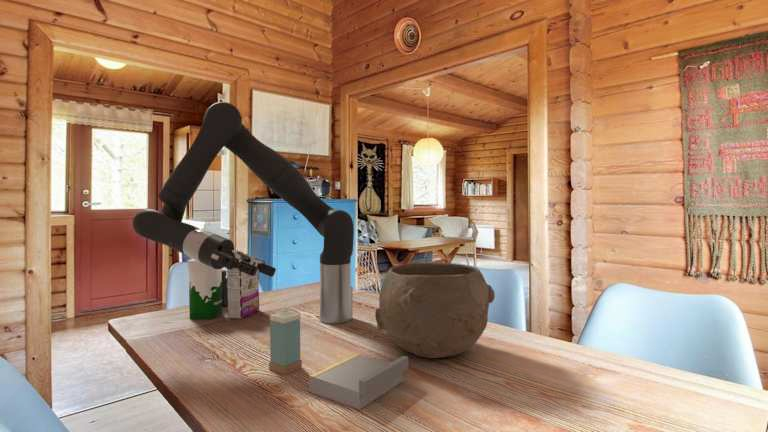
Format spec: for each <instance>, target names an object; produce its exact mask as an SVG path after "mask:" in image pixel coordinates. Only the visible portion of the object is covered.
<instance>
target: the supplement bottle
mask: <svg viewBox="0 0 768 432" xmlns="http://www.w3.org/2000/svg"><path fill="white" fill-rule="evenodd" d="M224 307H225V308H226V307H228V288H227V269H222V308H224Z"/></svg>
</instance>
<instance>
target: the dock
mask: <svg viewBox="0 0 768 432" xmlns="http://www.w3.org/2000/svg"><path fill="white" fill-rule="evenodd" d="M408 370H409V356H406V355H402V356H400V357H398V358H396V359H395V360H392V361H391V362H389V361H386V360H383V359H382V360H381V359H377V358H373V357H371V356H367V355H362V354H360V353H354V354H352V355H350V356H348V357H345V358H343V359H341V360H339V361H337V362H334V363H333V364H330V365H329V366H326V367H324V368H322V369H320V370H318V371H315V372H313V373H311V374H310V375H308V392H309V393H312V394H314V395H318V396H320V397H323V398H326V399H329V400H332V401H334V402H337V403H340V404H343V405H345V406H348V407H352V408H353V409H357V410H361V409H362V408H364V407H365V406H368V405H369V404H370V403H371V402H373V401H375V400H376V399H378V398H380V397H381V396H383V395H384V394H386V393H387V392H389V391H390V390H391V389H393V388H395V387H396V386H398V385H400V384H401V383H403V381H404V372H406V371H408Z"/></svg>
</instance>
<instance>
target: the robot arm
mask: <svg viewBox="0 0 768 432" xmlns="http://www.w3.org/2000/svg"><path fill="white" fill-rule="evenodd" d="M202 120H203V121H202V124H201V126H200V128H199V131H198V133H197V135H196V137H195V139H193V142H192V144H191V146H190V147H189V149H188V150H187V152H186V153H185V154H184V156H183V157H182V158H181V160H180V161H179V162H178V164H177V165H176V166H175V168H174V169H173V170H172V172H171V173H170V174H169V176H168V178H167V179H166V181H165V182H164V184H163V186H162V187H161V189H160V191H159V193H158V199H159V200H160V201H161V203H163V204H162V205H163V206H162V208H161V211H158V210H155V209H152V208H147V209H142V210H140V211H138V212H137V213H136V214H135V215H134V217H133V219H132V227H133V230H134V232H135V233H136V234H137V235H138V236H140V237H142V238H145V239H148V240H150V241H152V242H155V243H159V244H162V245H164V246H167V247H169V248H170V249H173V250H174V251H176V252H178V253H181V254H183V255H186V256H188V257H189V258H190V259H194V260H196V261H198V262H201V263H203V264H205V265H207V266H210V267H212V268H214V269H222V270H223V268H225V269H226V270H227V269H229V270H230V269H231V270H232V269H233V270H235V271H241V272H244V273H246V274H248V275H250V276H255V275H256V272H258V273H262V274H263V275H266V276H268V277H274V276H275V274H276V272H277V271H276V270H277V269H276V268H275V267H274V266H271V265H270V264H266V261H265V260H262V259H260V258H256V257H255V256H253V255H249V254H248V253H245V252H243V251H241V250H235V243H234V242H233V241H232V240H231V239H229V238H227V237H224V236H221V235H220V234H216V233H214V232H212V231H210V230H206V229H203V228H199V227H197V226H194V225H192V224H190V223H187V222H183V218H184V215H185V212H186V209H187V205H188V204H189V202H190V201H191V200H192V197H193V196H194V194H195V193H196V192H197V189H198V188H199V187H200V185H201V183H202V182H203V180H204V178H205V176H206V174H207V172H208V170H209V168H210V167H211V165H212V163H213V162H214V160H215V159H216V157H217V156H218V155H219V153H220V152H221V151H222V149H223V148H225V149H227V150H229V151H230V152H231V153H232V154H234V155H235V156H236V157H238V158H239V159H240V160H241V161H242V162H243V163H244V165H246V167H247V168H248V169H250V172H251V171H252V172H253V174H254V175H255V176H257V178H258V179H259V180H260V181H261V182H262V183H263V184H265V185H266V186H267V187H268V188H269V189H270V190H271V191H272V192H274V193H275V194H276V195H277V196H278V197H280V198H281V199H282V200H283V201H285V203H286V204H289V206H290V207H292V208H293V209H295V210H296V211H298V212H299V213H300V214H301V215H302V216H303V217H304V218H305V220H307V221H308V222H309V223H310V225H311V226H312V227H313V228H314V229H315V230H316V231H317V232H318V234H319V235H320V236H322V237H323V248H322V251H321V252H320V255H319V321H320V322H322V323H326V324H343V323H346V322H350V321H351V320H352V318H353V317H354V315H353V313H354V312H353V310H354V309H353V308H354V307H353V305H354V304H353V302H354V300H353V297H354V295H353V293H354V292H353V291H354V289H353V287H352V284H351V283H352V282H351V281H352V278H351V277H352V274H351V271H352V269H351V266H352V261H351V259H352V255H353V252H354V235H355V234H354V233H355V232H354V231H355V230H354V229H355V228H354V226H355V225H354V221H353V218H352V216H351V215H350V214H349V212H347V211H345V210H341V209H334V208H333V207H331V206H330V205H328V203H326V202H325V201H324V200H323V199H321V198H320V197H319V195H317V194H316V193H315V191H314V189H313V188H312V187H311V185H310V184H309V182H308V180H307V179H306V177H304V175H303V174H302V173H301V172H300V170H299V169H298V168H296V166H294V164H293V163H291V162H290V161H289V160H288V159H287V158H286V157H284V156H283V155H282V154H281V153H279V152H278V151H276V150H274V149H273V148H271V147H269V146H267V144H265V143H263V142H262V141H260V140H259V139H257V138H256V137H255V136H254V135H253V134H252V133H251V131H250V130H248V128H247V127H245V125H244V124H243V118H242V115H241V112H240V110H239V109H238V108H237V107H236V106H235V105H233V104H232V103H230V102H225V101H221V102H219V101H218V102H215V103H212V104H211V105H210V106H209V107H207V109H206V110H205V113H204V116H203V119H202ZM256 262H257V263H258V265H257V266H255V264H256ZM239 269H240V270H239Z"/></svg>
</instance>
